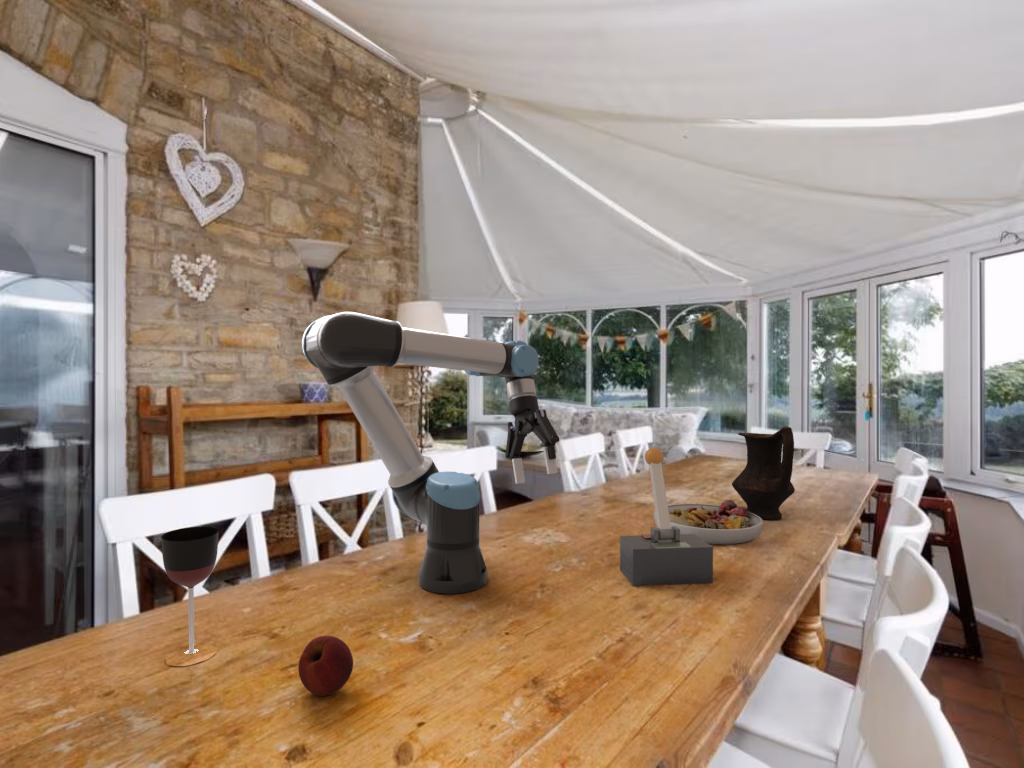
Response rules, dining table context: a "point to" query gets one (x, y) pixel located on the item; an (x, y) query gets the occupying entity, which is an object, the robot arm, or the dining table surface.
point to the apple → (325, 665)
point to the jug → (767, 472)
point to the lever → (659, 493)
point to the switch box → (666, 559)
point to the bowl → (715, 522)
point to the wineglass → (190, 562)
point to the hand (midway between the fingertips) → (536, 478)
